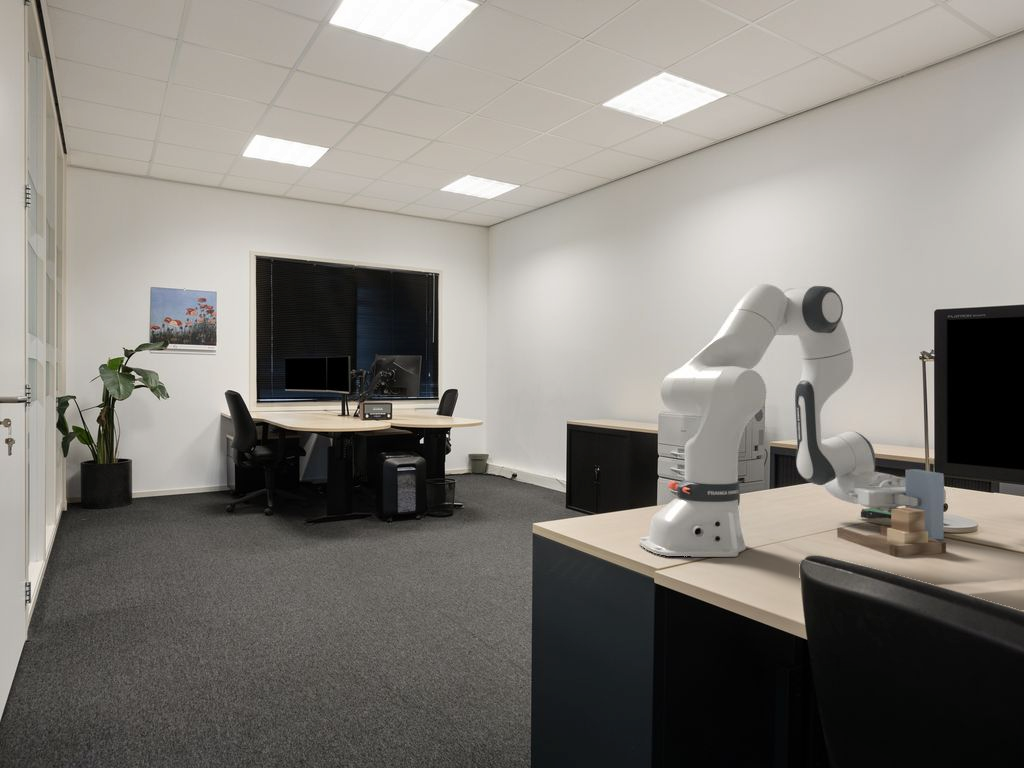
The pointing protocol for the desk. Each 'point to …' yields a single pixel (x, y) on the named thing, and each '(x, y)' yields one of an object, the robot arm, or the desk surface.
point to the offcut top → (908, 520)
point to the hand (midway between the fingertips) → (927, 501)
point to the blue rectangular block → (928, 498)
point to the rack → (883, 546)
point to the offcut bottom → (906, 537)
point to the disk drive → (875, 513)
